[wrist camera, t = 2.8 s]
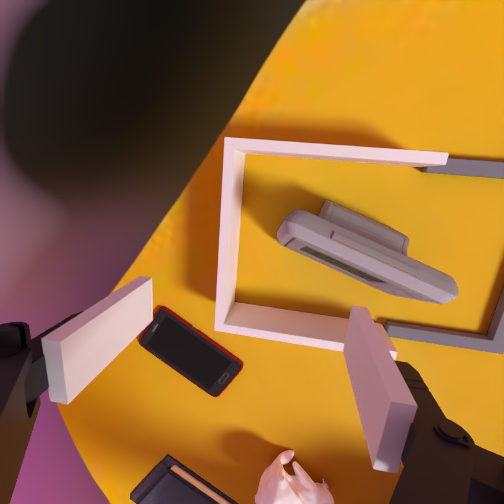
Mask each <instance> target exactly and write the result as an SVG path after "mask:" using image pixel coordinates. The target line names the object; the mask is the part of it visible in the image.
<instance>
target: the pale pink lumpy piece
mask: <svg viewBox="0 0 504 504" xmlns="http://www.w3.org/2000/svg"><path fill="white" fill-rule="evenodd" d="M293 456H294V451H293V450H287V451H284V452H282V453H281V454H279V455H278V456H277V458H276V459H275V460H274V462H273V463H272V464H271V465H270V466H269V467H268V468H266V469H265V471H264V473H263V474H262V476H261V480H260V483H259V488H258V491H257V494H256V496H255V503H256V504H334V499H333V496H332V495H331V493H330V492H329V491H328V489H327V488H328V486H329V485H328V486H327V484H325V481H324V479H323V482H322V483H318V482H316V483H314V481H312V479H311V478H310V477H309V475H308V474H307V473H306V472H305V471H304V470H303V468H302V467H301V466H300V465H299V464H298V463H297V462H296V461H294V462H293V469H294V472H295V476H293V475H292V476H290V475H289V474H288V473H287V472H286V471H285V470H284V468H283V465H284V464H287V463H289V462H290V461H291V459H292V458H293Z"/></svg>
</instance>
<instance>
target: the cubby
mask: <svg viewBox="0 0 504 504" xmlns="http://www.w3.org/2000/svg"><path fill="white" fill-rule="evenodd" d="M245 154H257V155H270V156H283V157H296V158H308V159H321V160H334V161H347V162H360V163H373V164H386V165H399V166H412V167H425V166H438V165H446V162H447V158H448V154H449V153H444V152H430V151H416V150H401V149H387V148H373V147H359V146H345V145H330V144H316V143H302V142H288V141H274V140H260V139H245V138H231V137H225V140H224V159H223V178H222V197H221V216H220V235H219V255H218V274H217V293H216V312H215V331H221V332H227V333H233V334H239V335H245V336H251V337H257V338H264V339H270V340H276V341H282V342H288V343H294V344H300V345H307V346H313V347H319V348H325V349H331V350H337V351H343V348H344V343H345V337H346V332H347V327H348V322H349V319H347V318H340V317H333V316H327V315H320V314H313V313H306V312H300V311H293V310H286V309H279V308H273V307H266V306H259V305H252V304H245V303H239V302H235V290H236V276H237V262H238V249H239V235H240V221H241V207H242V193H243V179H244V165H245ZM375 325H376V327H377V329H378V330H379V332H380V334H381V336H382V338H383V340H384V342H385V344H386V346H387V348H388V350H389V352H390V354H391V356H392V357H393V359H394V360H395V359H396V356H397V350H396V348H395V347H394V345H393V343H392V341H391V340H390V338H389V336H388V334H387V332H386V331H385V329H384V327H383V325H382V324H381V323H375Z"/></svg>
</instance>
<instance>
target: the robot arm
mask: <svg viewBox="0 0 504 504" xmlns="http://www.w3.org/2000/svg"><path fill="white" fill-rule="evenodd" d="M152 321H153V293H152V278H150V277H143V276H139V277H138V278H136V279H135V280H133V281H131V282H130V283H128V284H127V285H125V286H123V287H122V288H120V289H119V290H117V291H116V292H114V293H112V294H111V295H109V296H108V297H106V298H105V299H103V300H101V301H100V302H98V303H97V304H95V305H93V306H92V307H90V308H89V309H87V310H86V311H82V312H79V313H76V314H74V315H71V316H70V317H68V318H66V319H65V320H63V321H62V322H61V323H58V324H57V325H55V326H54V327H51V328H50V329H48V330H46V331H45V332H43V333H42V334H40V335H38V336H37V337H35V338H33V339H32V340H31V336H30V329H29V325H28V324H27V323H23V322H10V323H5V324H1V325H0V504H9V503H10V500H11V497H12V494H13V491H14V488H15V484H16V481H17V478H18V475H19V472H20V468H21V465H22V462H23V459H24V455H25V452H26V449H27V446H28V443H29V439H30V436H31V433H32V430H33V427H34V423H35V420H36V417H37V414H38V411H39V407H40V395H41V394H42V393H43V392H44V391H45V390H46V389H48V390H49V396H50V401H53V402H58V403H63V404H67V405H68V404H69V403H70V402H71V401H72V400H73V399H74V398H75V397H76V396H77V395H78V394H79V393H80V392H81V391H82V390H83V389H84V388H85V387H86V386H87V385H88V384H89V383H90V382H91V381H92V380H93V379H94V378H95V377H96V376H97V375H98V374H99V373H100V372H101V371H102V370H103V369H104V368H105V367H106V366H107V365H108V364H109V363H110V362H111V361H112V360H113V359H114V358H115V357H116V356H117V355H118V354H119V353H120V352H121V351H122V350H123V349H124V348H125V347H126V346H127V345H128V344H129V343H130V342H131V341H132V340H133V339H134V338H135V337H136V336H137V335H138V334H139V333H140V332H141V331H142V330H143V329H145V328H146V327H147V326H148V325H149V324H150V323H151V322H152ZM343 353H344V357H345V361H346V364H347V368H348V372H349V376H350V380H351V384H352V388H353V392H354V396H355V400H356V404H357V408H358V411H359V415H360V419H361V423H362V427H363V431H364V435H365V439H366V443H367V447H368V451H369V454H370V458H371V462H372V466H373V469H376V470H381V471H386V472H390V473H395V474H398V470H399V467H400V464H401V460H402V463H403V466H404V468H403V471H402V473H401V476H400V478H399V481H398V483H397V485H396V488H395V490H394V493H393V495H392V498H391V500H390V502H389V504H504V457H503V456H500V455H498V454H495V453H493V452H491V451H488V450H486V449H483V448H481V447H479V446H477V445H475V443H474V441H473V439H472V438H471V436H470V435H469V434H468V433H467V432H466V431H465V430H464V429H463V428H462V427H461V426H459V425H458V424H456V423H454V422H453V421H451V420H449V419H447V418H446V417H445V415H444V414H443V412H442V410H441V409H440V407H439V405H438V404H437V402H436V400H435V399H434V397H433V396H432V394H431V392H430V391H429V389H428V387H427V386H426V384H425V383H424V381H423V379H422V378H421V376H420V374H419V373H418V371H417V370H415V369H414V368H413V367H412V366H411V365H410V364H409V363H406V362H400V361H394V359H393V357H392V356H391V354H390V352H389V350H388V348H387V346H386V344H385V342H384V340H383V338H382V336H381V334H380V332H379V330H378V329H377V327H376V325H375V323H374V321H373V319H372V317H371V315H370V313H369V311H368V309H367V308H365V307H358V306H352V307H351V312H350V317H349V322H348V327H347V332H346V337H345V343H344V348H343Z"/></svg>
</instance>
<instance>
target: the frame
mask: <svg viewBox="0 0 504 504" xmlns="http://www.w3.org/2000/svg"><path fill="white" fill-rule="evenodd" d="M422 172H426V173H438V174H451V175H463V176H476V177H488V178H501V179H504V162H493V161H480V160H466V159H452V158H447V162H446V165H438V166H425V167H423V169H422ZM385 331H386V332H387V334H388V336H389V337H394V338H401V339H407V340H414V341H420V342H427V343H434V344H440V345H447V346H453V347H460V348H466V349H473V350H479V351H486V352H492V353H499V354H503V353H504V287H503V290H502V293H501V296H500V298H499V301H498V304H497V307H496V310H495V313H494V315H493V318H492V321H491V324H490V327H489V330H488V333H487V335H481V334H474V333H467V332H460V331H454V330H447V329H440V328H433V327H426V326H419V325H413V324H406V323H399V322H392V321H386V325H385Z"/></svg>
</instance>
